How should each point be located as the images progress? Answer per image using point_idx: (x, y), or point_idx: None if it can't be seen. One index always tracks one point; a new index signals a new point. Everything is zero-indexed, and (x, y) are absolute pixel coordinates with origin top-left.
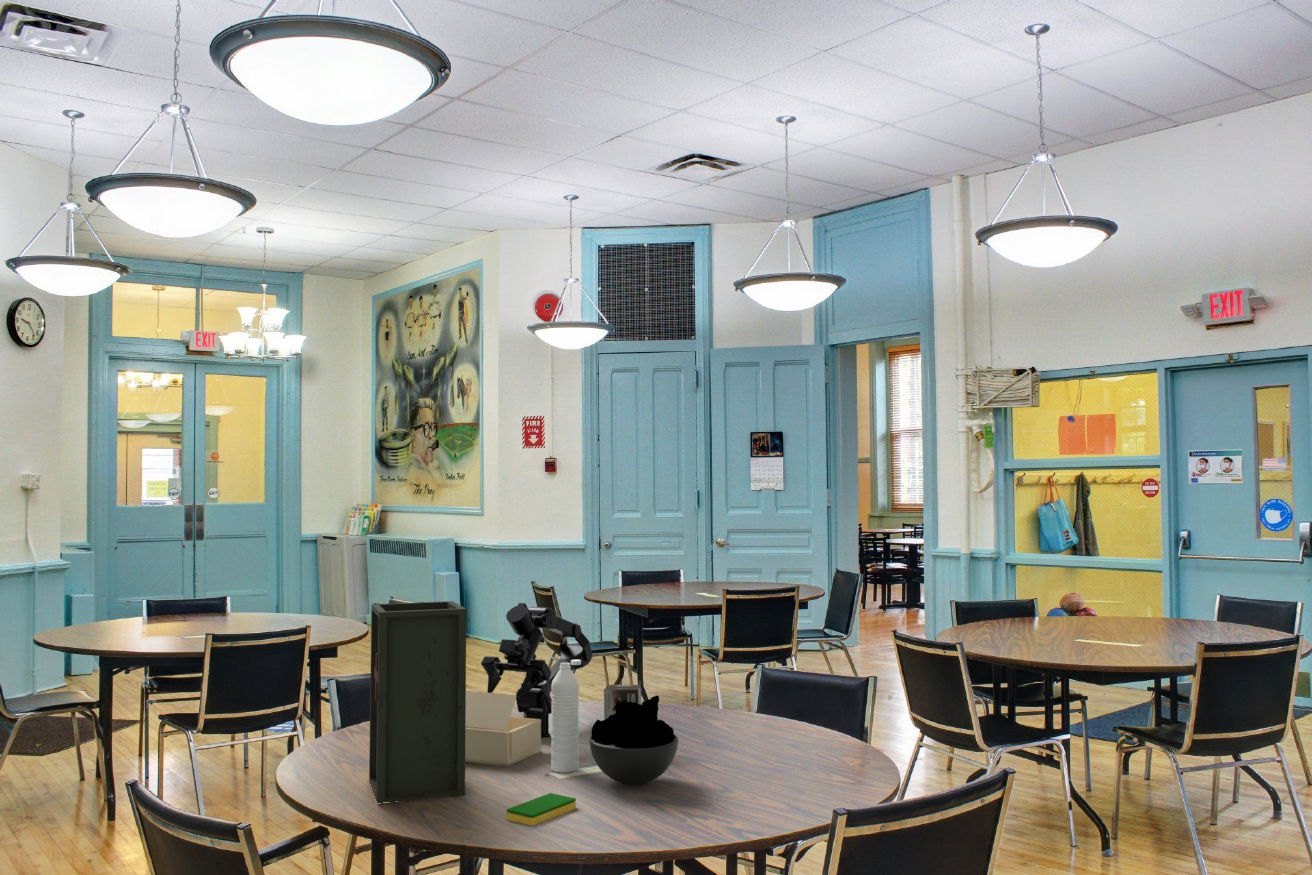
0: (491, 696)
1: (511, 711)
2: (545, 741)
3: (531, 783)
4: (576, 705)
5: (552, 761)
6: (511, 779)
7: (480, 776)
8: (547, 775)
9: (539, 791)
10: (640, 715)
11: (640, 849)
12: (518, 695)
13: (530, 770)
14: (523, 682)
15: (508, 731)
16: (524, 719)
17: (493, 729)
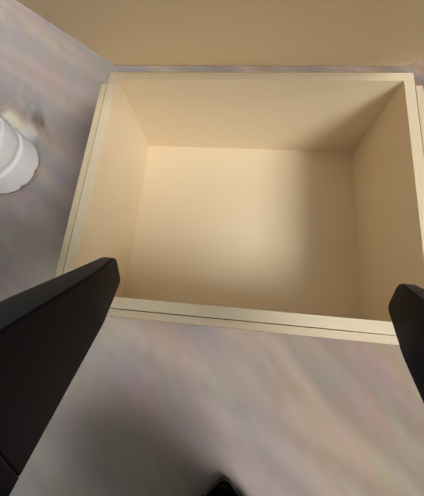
0: None
1: (73, 36)
2: (146, 449)
3: (54, 63)
4: None
5: (17, 130)
6: (101, 71)
7: (172, 67)
8: (37, 116)
9: (26, 31)
10: None
11: None
12: (112, 258)
13: (84, 136)
14: (17, 314)
15: (115, 87)
16: (137, 299)
17: (163, 65)
